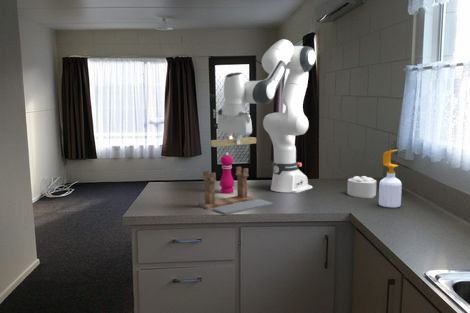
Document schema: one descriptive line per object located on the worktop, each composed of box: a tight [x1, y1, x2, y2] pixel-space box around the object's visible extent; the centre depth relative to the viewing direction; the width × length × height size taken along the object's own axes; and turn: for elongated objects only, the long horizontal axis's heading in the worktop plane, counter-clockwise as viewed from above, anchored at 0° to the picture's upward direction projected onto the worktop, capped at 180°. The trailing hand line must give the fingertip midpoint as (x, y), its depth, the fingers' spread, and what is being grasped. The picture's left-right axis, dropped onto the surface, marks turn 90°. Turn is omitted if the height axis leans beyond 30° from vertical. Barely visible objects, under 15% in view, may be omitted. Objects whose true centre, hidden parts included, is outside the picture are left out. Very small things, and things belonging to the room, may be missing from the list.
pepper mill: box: [219, 151, 235, 195], centre depth 215 cm, size 7×7×20 cm
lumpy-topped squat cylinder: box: [346, 175, 377, 199], centre depth 209 cm, size 10×13×9 cm
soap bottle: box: [378, 149, 403, 209], centre depth 188 cm, size 9×9×25 cm
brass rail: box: [210, 136, 257, 148], centre depth 186 cm, size 22×3×2 cm, turn 127°
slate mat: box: [212, 198, 274, 216], centre depth 187 cm, size 26×9×1 cm, turn 128°
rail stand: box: [198, 166, 254, 210], centre depth 194 cm, size 25×7×15 cm, turn 128°
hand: (234, 143), depth 186 cm, fingers closed on brass rail, 3 cm apart
